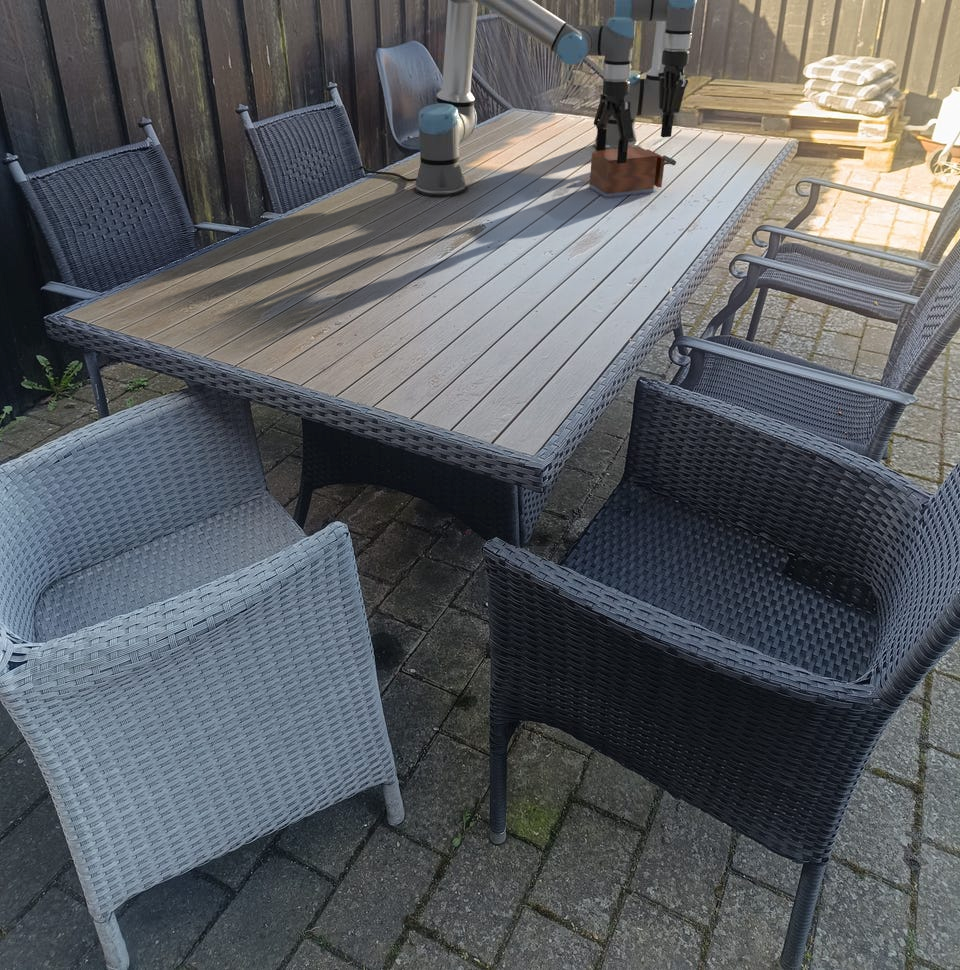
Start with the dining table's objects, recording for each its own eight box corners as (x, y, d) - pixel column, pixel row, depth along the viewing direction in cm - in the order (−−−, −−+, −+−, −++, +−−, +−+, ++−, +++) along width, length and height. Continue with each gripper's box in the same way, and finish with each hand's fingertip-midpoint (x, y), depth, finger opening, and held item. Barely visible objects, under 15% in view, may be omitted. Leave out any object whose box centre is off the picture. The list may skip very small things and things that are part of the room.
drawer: (660, 176, 267) (663, 147, 262) (676, 185, 259) (680, 155, 254) (603, 183, 261) (605, 153, 256) (618, 192, 253) (621, 162, 248)
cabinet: (635, 181, 265) (639, 146, 259) (653, 192, 257) (657, 155, 250) (589, 187, 261) (591, 151, 254) (606, 197, 252) (609, 160, 246)
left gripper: (650, 86, 231) (642, 166, 243) (608, 71, 250) (603, 146, 262) (625, 88, 229) (619, 169, 241) (585, 73, 248) (581, 148, 260)
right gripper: (700, 52, 236) (688, 140, 250) (675, 45, 246) (665, 130, 260) (676, 53, 234) (666, 142, 248) (653, 46, 244) (644, 132, 258)
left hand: (610, 157), depth 251 cm, fingers open, 13 cm apart
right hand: (665, 136), depth 254 cm, fingers closed
